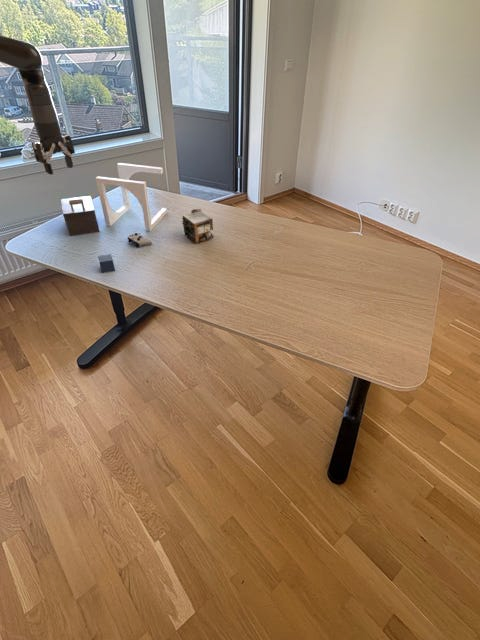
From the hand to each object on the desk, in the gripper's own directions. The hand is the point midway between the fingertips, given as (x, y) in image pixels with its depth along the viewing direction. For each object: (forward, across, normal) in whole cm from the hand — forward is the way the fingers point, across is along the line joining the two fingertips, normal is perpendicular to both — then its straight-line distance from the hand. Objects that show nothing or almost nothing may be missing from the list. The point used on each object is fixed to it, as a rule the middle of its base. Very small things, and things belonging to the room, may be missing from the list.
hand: (60, 170), depth 124 cm
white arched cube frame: (+26, -25, +9) cm, 37 cm away
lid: (+17, -6, -5) cm, 18 cm away
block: (+26, +12, +27) cm, 39 cm away
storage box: (+26, -7, -5) cm, 27 cm away
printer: (+26, -24, +43) cm, 55 cm away
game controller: (+26, -8, +24) cm, 36 cm away
